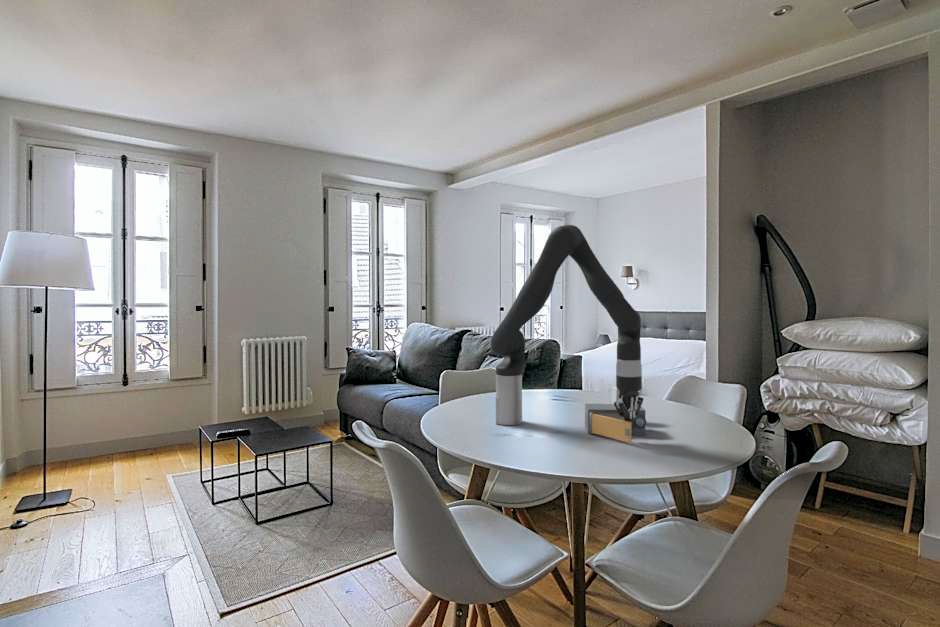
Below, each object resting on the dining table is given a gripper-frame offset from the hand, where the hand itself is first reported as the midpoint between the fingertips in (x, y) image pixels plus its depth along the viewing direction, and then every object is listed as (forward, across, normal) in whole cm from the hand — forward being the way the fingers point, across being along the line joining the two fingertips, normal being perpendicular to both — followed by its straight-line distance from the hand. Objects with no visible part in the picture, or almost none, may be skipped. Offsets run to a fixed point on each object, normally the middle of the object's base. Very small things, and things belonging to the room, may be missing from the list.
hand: (629, 429), depth 157 cm
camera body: (+4, +7, +10) cm, 13 cm away
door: (+3, -3, +5) cm, 7 cm away
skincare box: (+4, +20, +16) cm, 26 cm away
